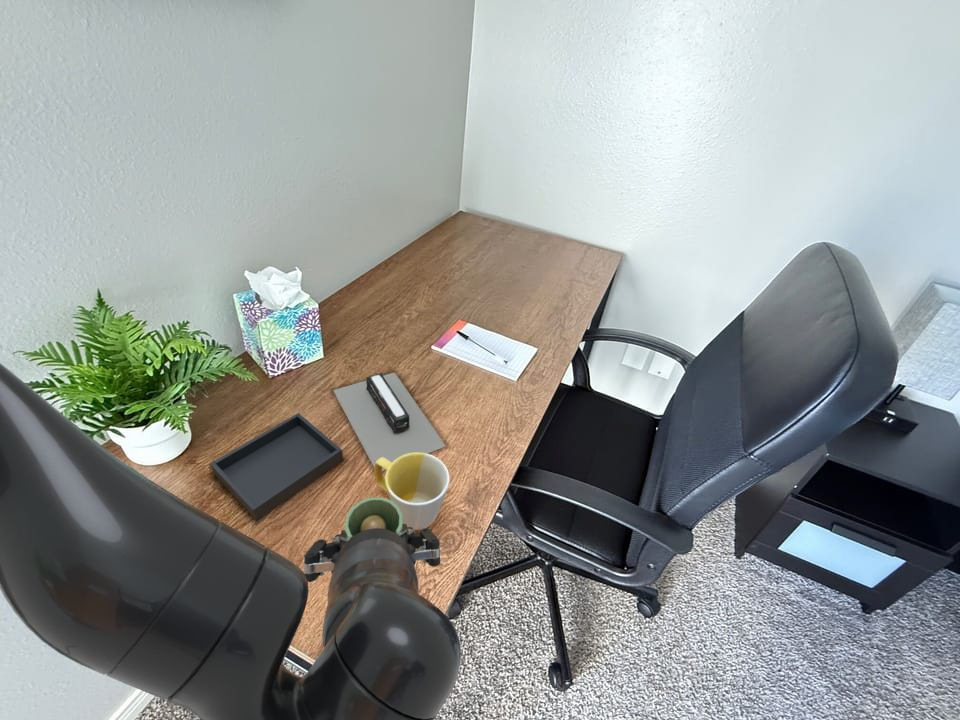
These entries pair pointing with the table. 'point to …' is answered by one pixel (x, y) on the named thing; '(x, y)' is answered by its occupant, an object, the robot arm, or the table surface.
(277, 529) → the table surface
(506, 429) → the table surface
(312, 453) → the tray
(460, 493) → the table surface
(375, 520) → the ball
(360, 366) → the table surface
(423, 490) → the mug
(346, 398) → the grey flat rectangular panel
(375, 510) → the tumbler
